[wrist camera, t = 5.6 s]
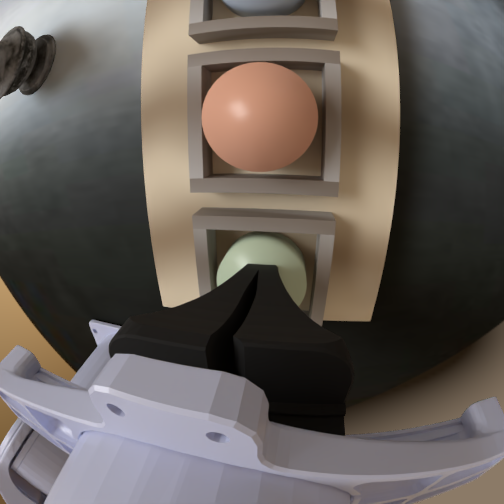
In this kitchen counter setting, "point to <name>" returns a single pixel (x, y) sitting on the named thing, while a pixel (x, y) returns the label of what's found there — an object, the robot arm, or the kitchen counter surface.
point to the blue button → (263, 7)
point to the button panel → (284, 179)
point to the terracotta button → (259, 117)
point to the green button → (267, 260)
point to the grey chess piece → (24, 61)
